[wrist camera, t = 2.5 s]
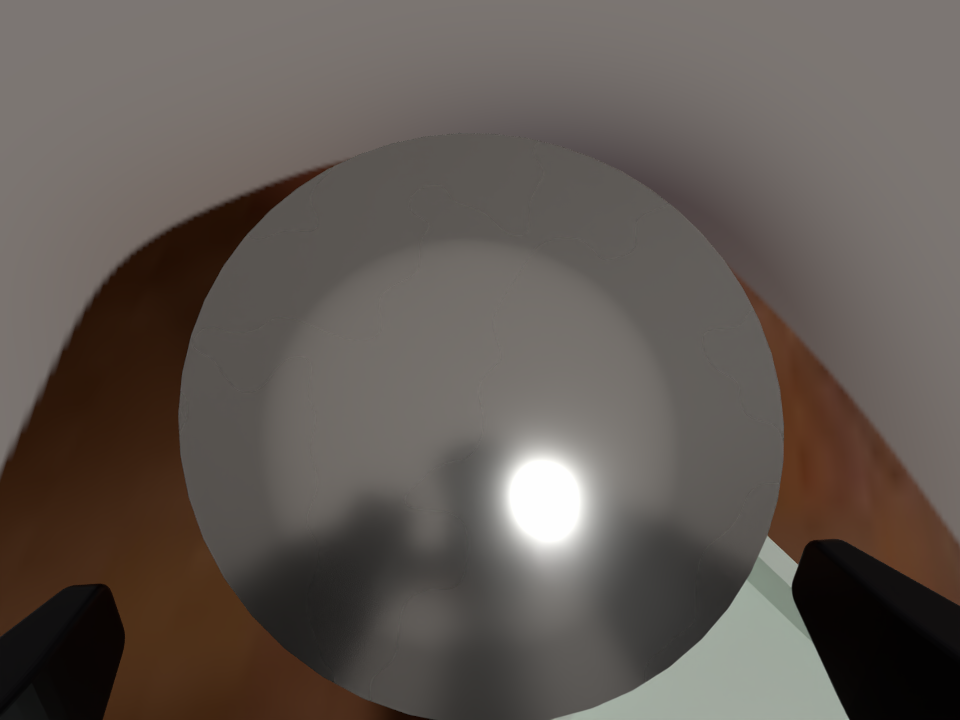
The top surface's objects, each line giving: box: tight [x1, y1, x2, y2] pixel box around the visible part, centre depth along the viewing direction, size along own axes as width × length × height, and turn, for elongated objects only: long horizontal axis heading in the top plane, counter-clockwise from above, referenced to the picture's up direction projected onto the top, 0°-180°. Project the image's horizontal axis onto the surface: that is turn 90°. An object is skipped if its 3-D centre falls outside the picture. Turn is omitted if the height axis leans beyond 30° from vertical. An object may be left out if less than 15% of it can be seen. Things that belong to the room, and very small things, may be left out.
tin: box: [178, 133, 784, 720], centre depth 12 cm, size 6×6×12 cm
